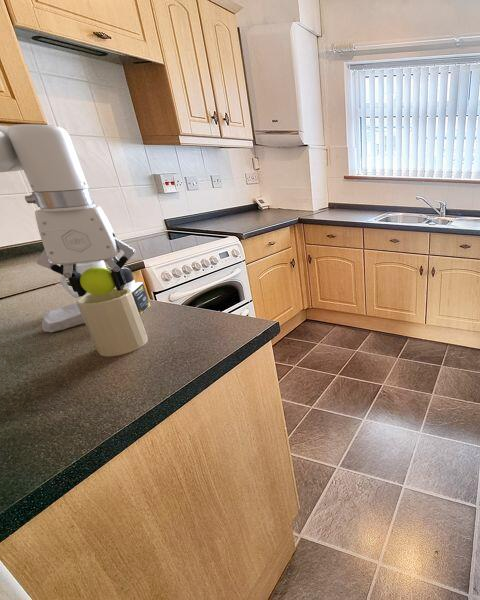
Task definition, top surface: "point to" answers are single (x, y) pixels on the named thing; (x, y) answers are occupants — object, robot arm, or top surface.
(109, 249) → the robot arm
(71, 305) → the soap bar
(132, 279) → the medicine bottle
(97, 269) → the ball
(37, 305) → the top surface
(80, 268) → the mug
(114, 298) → the beige octagonal cup
